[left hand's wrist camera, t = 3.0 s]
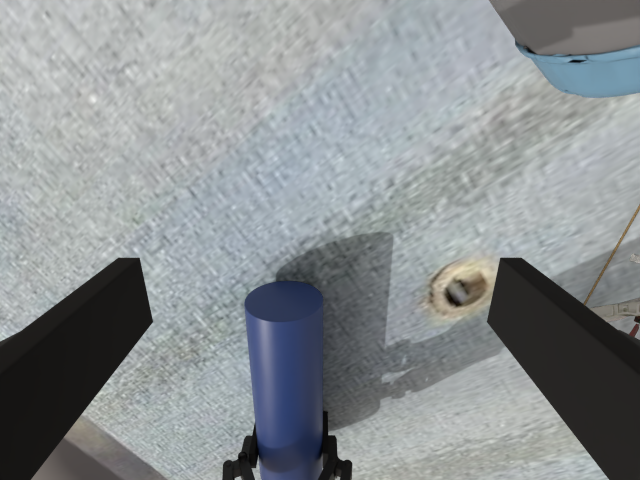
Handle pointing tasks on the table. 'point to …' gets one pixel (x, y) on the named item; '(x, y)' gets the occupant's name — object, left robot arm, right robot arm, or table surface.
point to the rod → (287, 378)
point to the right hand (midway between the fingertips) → (292, 418)
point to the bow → (623, 309)
